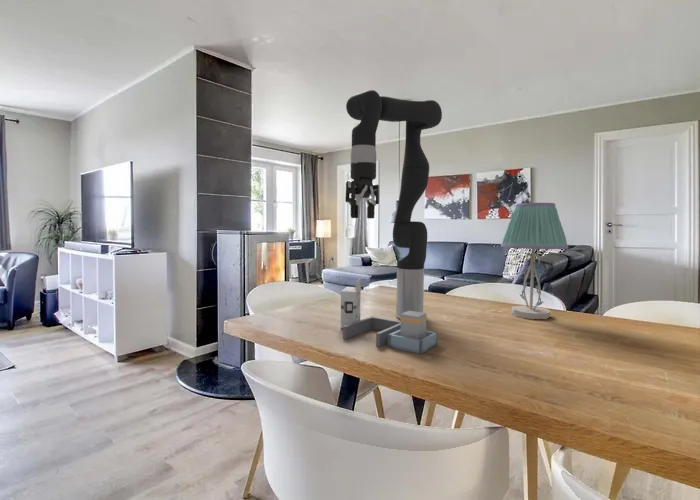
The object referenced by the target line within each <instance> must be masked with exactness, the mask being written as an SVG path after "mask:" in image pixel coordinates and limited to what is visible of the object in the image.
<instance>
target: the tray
mask: <svg viewBox="0 0 700 500" xmlns="http://www.w3.org/2000/svg"><path fill="white" fill-rule="evenodd" d="M400 334H401V329H400V330H398V331H395V332H393V333H391V334H389V335H388V343H387V344H388V346H387V347H389V348H392V349H398V350H402V351H406V352H410V353H415V354H418V355H422V354H424V353H426V352H428V351H429V350H430V349H432V348H434V347H435V346H437V345H438V332H435V331H430V330H426V337H425V338H423V339H422V340H417V339H412V338H407V337H403V336H400Z"/></svg>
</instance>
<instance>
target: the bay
mask: <svg viewBox="0 0 700 500" xmlns="http://www.w3.org/2000/svg"><path fill="white" fill-rule="evenodd" d="M400 329H401V321H398V320H395V319H388V318H382V317H378V316H372V315H371V316H369V317H366V318H362V319H360V320H359V321H357V322H354V323H351V324H348V325H345V326H343V328H342V335H343V336H342V339H345V340H347V339H350V338H351V337H354V336H356V335H360V334H362V333H364V332H367V331H370V330H378V331H377V332H376V333H375V334H376V335H375V338H376V339H375V346H376V347H378V348H381V347H382V346H384V345H386V344H388V335H389V334H391V333H393V332H395V331H398V330H400Z"/></svg>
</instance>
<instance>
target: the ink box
mask: <svg viewBox="0 0 700 500" xmlns="http://www.w3.org/2000/svg"><path fill="white" fill-rule="evenodd" d="M361 283H362V281H361V278H359V279H357V280H356V281H355V286H345V288H344V289H342V290H341V291H340V329H343V326H345V325H348V324H351V323H354V322H357V321H359V320H361V292H362V291H361V289H362V288H361V287H362V285H361Z"/></svg>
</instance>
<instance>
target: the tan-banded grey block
mask: <svg viewBox="0 0 700 500" xmlns="http://www.w3.org/2000/svg"><path fill="white" fill-rule="evenodd" d="M427 316H428V315H427V312H423V313H422V312H416V311H407V312H405V313H402V314H401V319H399V320H400V322H401V334H400V336H403V337H407V338H412V339H417V340H422V339H423V338H425V337H426V331H427V320H428V319H427V318H428V317H427Z"/></svg>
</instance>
